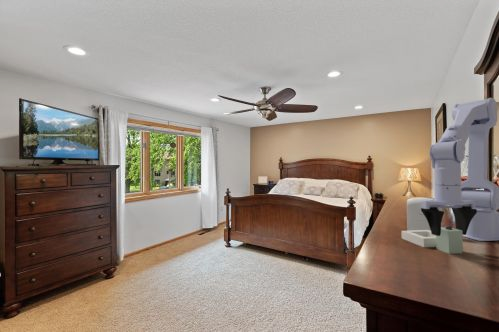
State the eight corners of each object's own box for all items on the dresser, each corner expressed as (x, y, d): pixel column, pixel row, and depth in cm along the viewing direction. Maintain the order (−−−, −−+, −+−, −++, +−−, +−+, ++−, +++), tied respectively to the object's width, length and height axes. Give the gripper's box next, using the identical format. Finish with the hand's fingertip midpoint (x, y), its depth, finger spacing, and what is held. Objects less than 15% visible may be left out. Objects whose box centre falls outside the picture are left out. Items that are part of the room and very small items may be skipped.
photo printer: (405, 231, 88) (404, 196, 88) (409, 229, 91) (408, 195, 91) (440, 236, 80) (439, 199, 80) (444, 234, 83) (443, 198, 83)
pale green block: (449, 248, 69) (448, 224, 69) (462, 253, 65) (462, 227, 65) (436, 248, 69) (435, 224, 69) (449, 253, 65) (448, 228, 65)
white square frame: (427, 237, 80) (427, 229, 80) (452, 246, 71) (452, 237, 71) (401, 238, 79) (401, 230, 79) (423, 247, 70) (423, 238, 70)
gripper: (458, 183, 72) (459, 229, 72) (412, 184, 71) (413, 231, 70) (483, 185, 65) (484, 236, 65) (432, 186, 64) (433, 238, 63)
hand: (448, 234), depth 67 cm, fingers open, 7 cm apart
